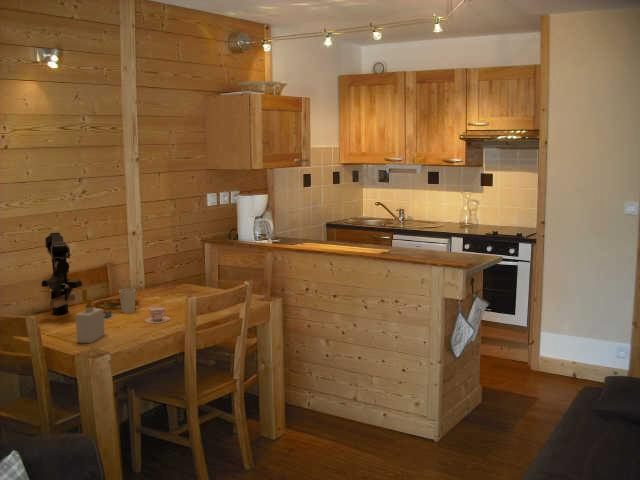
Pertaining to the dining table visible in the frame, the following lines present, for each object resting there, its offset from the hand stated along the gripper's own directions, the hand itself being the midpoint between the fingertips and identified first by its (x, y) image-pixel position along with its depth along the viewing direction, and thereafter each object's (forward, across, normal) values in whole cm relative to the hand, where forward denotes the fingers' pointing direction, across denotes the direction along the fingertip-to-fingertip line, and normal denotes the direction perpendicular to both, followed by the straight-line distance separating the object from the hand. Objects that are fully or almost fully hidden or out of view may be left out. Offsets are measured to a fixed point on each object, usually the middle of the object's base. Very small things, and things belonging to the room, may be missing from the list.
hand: (62, 300), depth 338 cm
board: (+10, +16, +3) cm, 19 cm away
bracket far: (+9, +16, +7) cm, 20 cm away
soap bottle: (+10, +30, -25) cm, 40 cm away
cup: (+10, +24, +19) cm, 32 cm away
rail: (+2, 0, 0) cm, 2 cm away
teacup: (+10, +44, +11) cm, 47 cm away
